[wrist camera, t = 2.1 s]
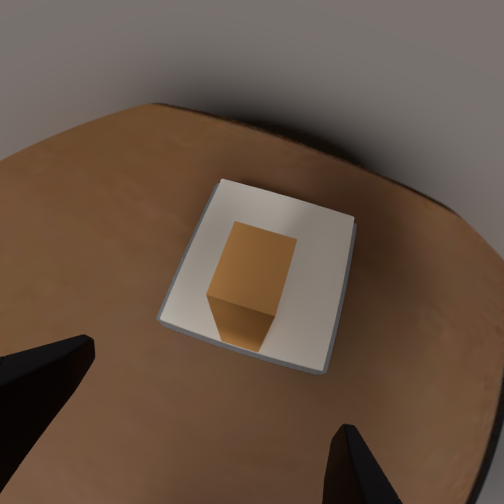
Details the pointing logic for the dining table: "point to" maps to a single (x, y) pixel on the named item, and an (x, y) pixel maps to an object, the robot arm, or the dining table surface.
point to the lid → (264, 275)
